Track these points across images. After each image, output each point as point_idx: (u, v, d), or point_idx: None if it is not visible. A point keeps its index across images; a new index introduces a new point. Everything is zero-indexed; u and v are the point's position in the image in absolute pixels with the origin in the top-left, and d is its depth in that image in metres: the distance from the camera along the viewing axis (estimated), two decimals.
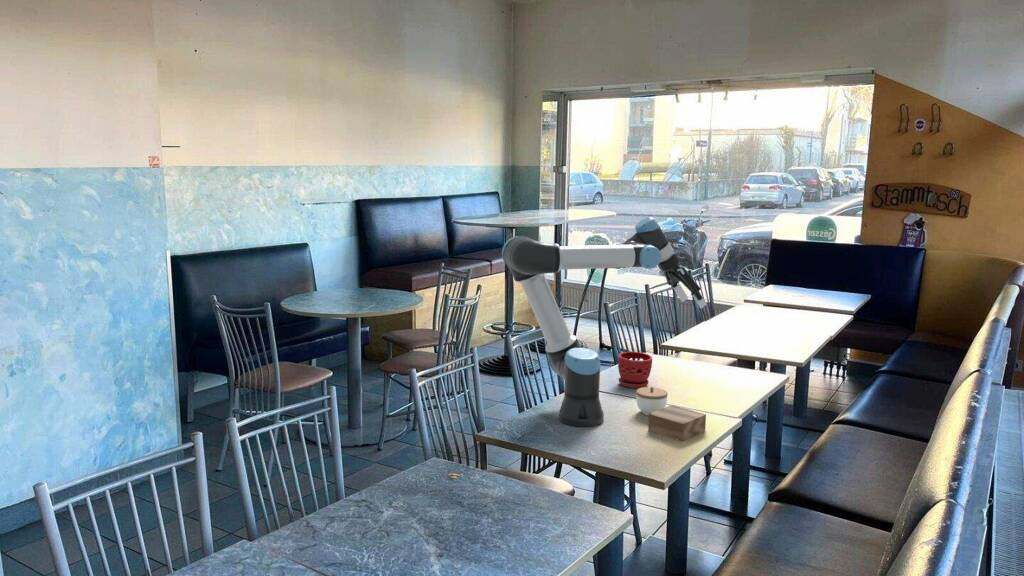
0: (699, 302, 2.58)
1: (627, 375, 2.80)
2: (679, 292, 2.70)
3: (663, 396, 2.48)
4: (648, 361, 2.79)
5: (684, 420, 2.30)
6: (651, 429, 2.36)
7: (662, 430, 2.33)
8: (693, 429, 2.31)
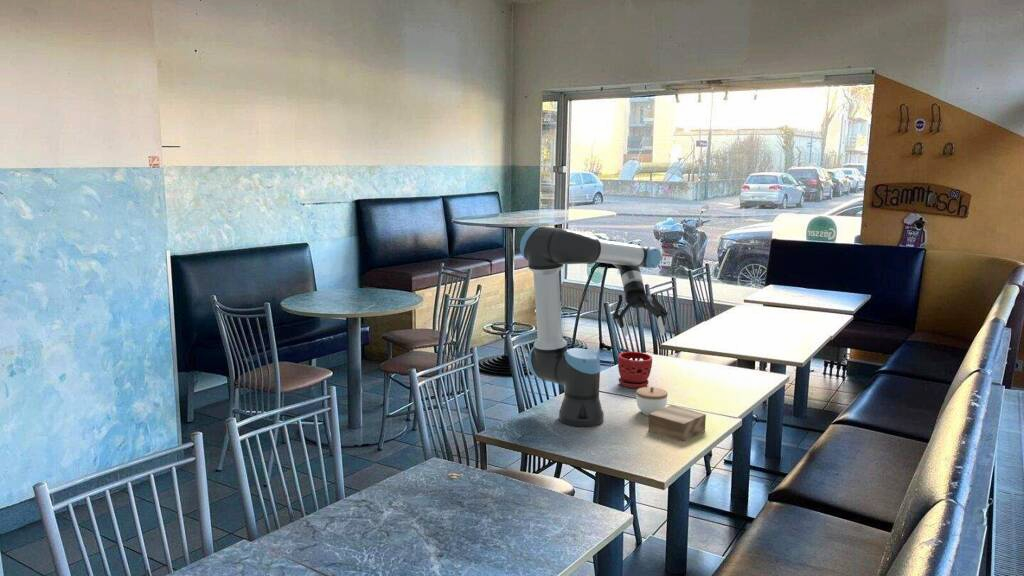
0: None
1: (627, 375, 2.80)
2: None
3: (663, 396, 2.48)
4: (648, 361, 2.79)
5: (684, 420, 2.30)
6: (651, 429, 2.36)
7: (663, 430, 2.33)
8: (694, 429, 2.32)
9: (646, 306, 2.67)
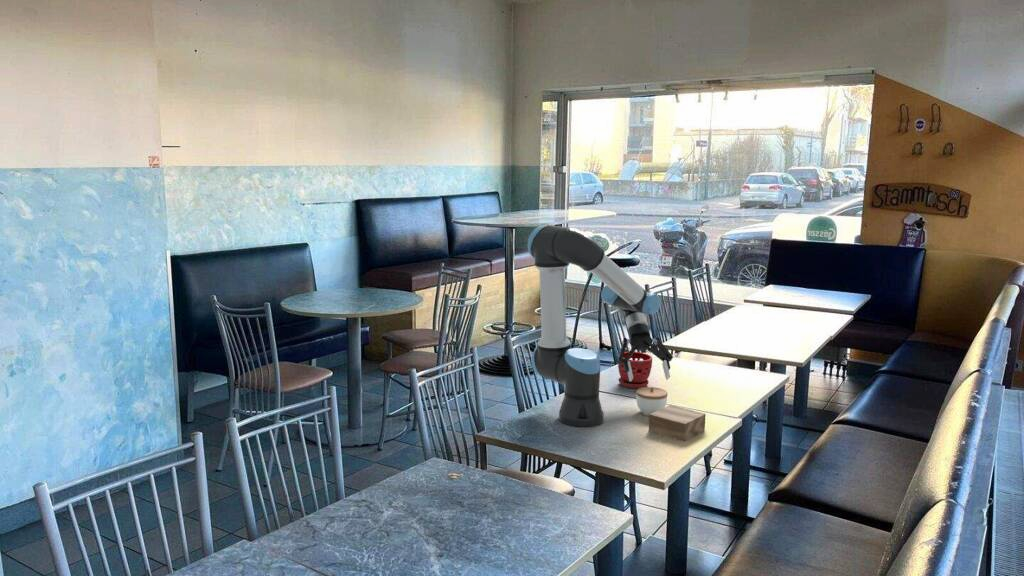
0: None
1: (627, 375, 2.80)
2: None
3: (663, 396, 2.48)
4: (648, 361, 2.79)
5: (685, 420, 2.30)
6: (652, 430, 2.35)
7: (663, 431, 2.32)
8: (694, 428, 2.32)
9: (651, 349, 2.65)
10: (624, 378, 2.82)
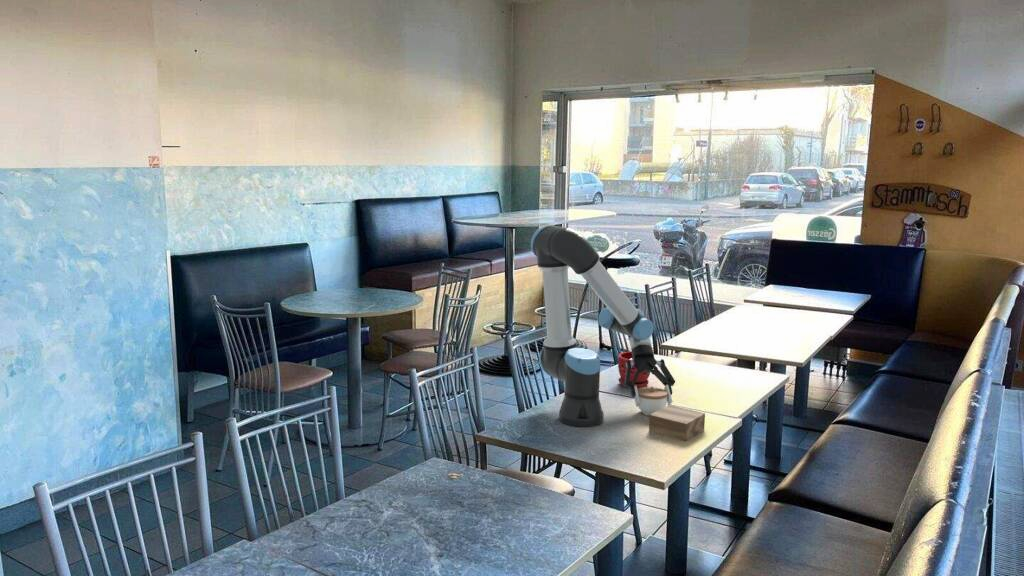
0: None
1: None
2: None
3: (663, 396, 2.48)
4: None
5: (686, 420, 2.30)
6: (652, 430, 2.35)
7: (664, 431, 2.32)
8: (695, 428, 2.32)
9: (654, 372, 2.57)
10: (624, 378, 2.82)
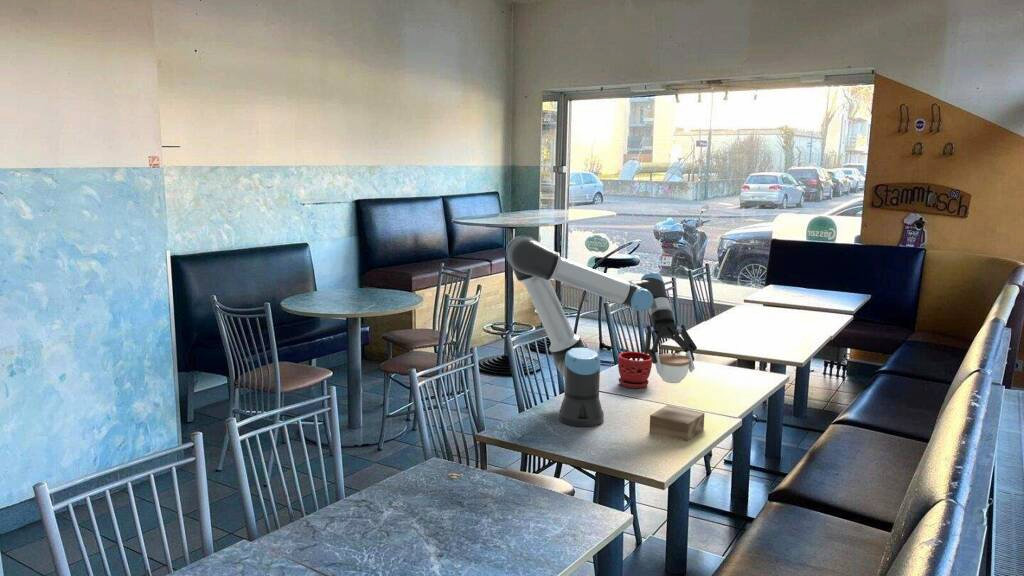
0: None
1: (627, 375, 2.80)
2: None
3: (686, 363, 2.38)
4: (648, 361, 2.79)
5: (687, 420, 2.30)
6: (653, 431, 2.35)
7: (665, 431, 2.32)
8: (695, 428, 2.32)
9: (675, 337, 2.47)
10: (624, 378, 2.82)
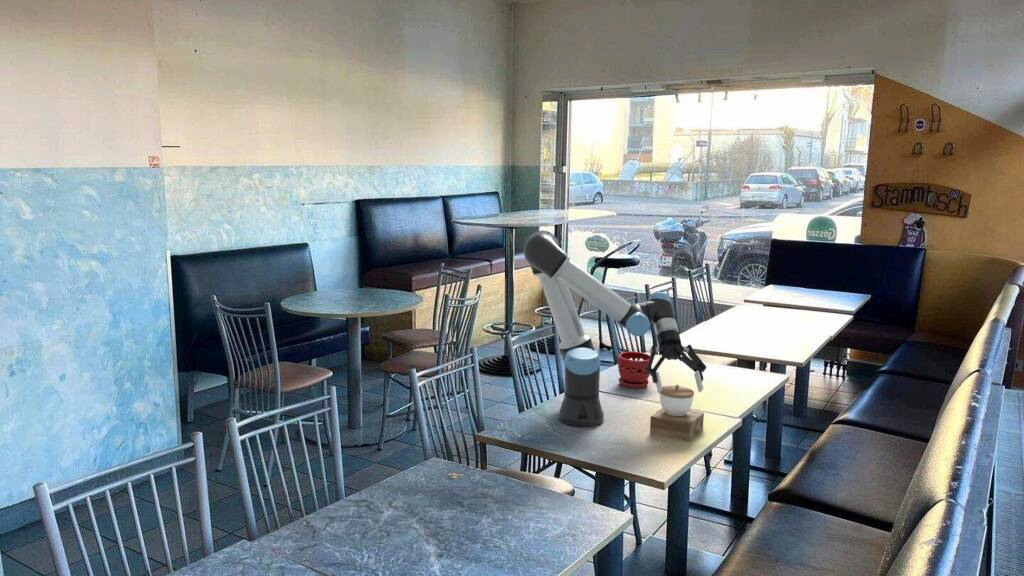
0: None
1: (627, 375, 2.80)
2: None
3: (688, 395, 2.31)
4: None
5: (688, 420, 2.30)
6: (653, 431, 2.34)
7: (666, 432, 2.31)
8: (696, 428, 2.32)
9: (682, 358, 2.42)
10: (624, 378, 2.82)
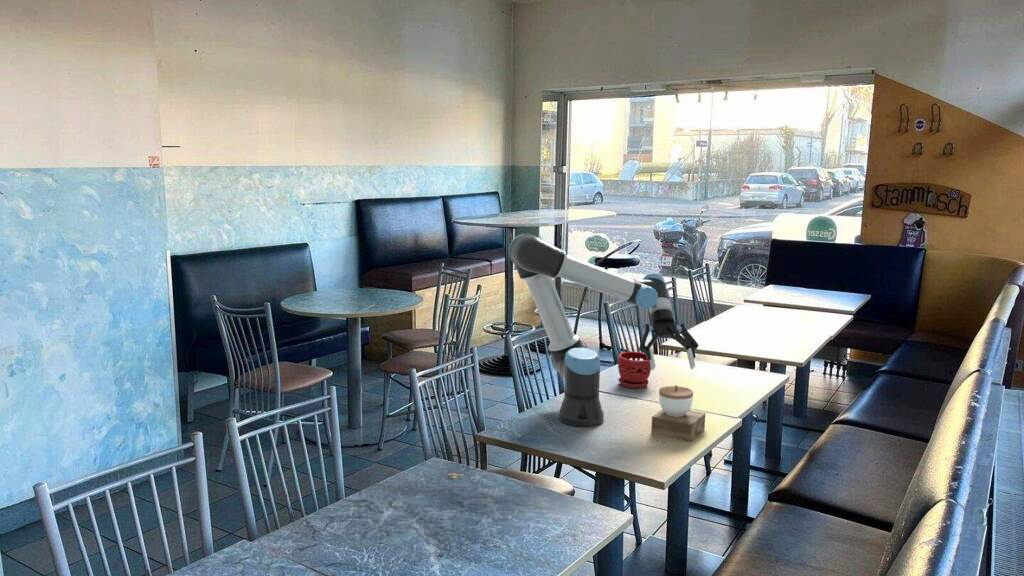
0: None
1: (627, 375, 2.80)
2: None
3: (684, 396, 2.30)
4: (648, 361, 2.79)
5: (689, 420, 2.30)
6: (654, 432, 2.34)
7: (667, 432, 2.31)
8: (697, 428, 2.32)
9: (675, 336, 2.48)
10: (624, 378, 2.82)
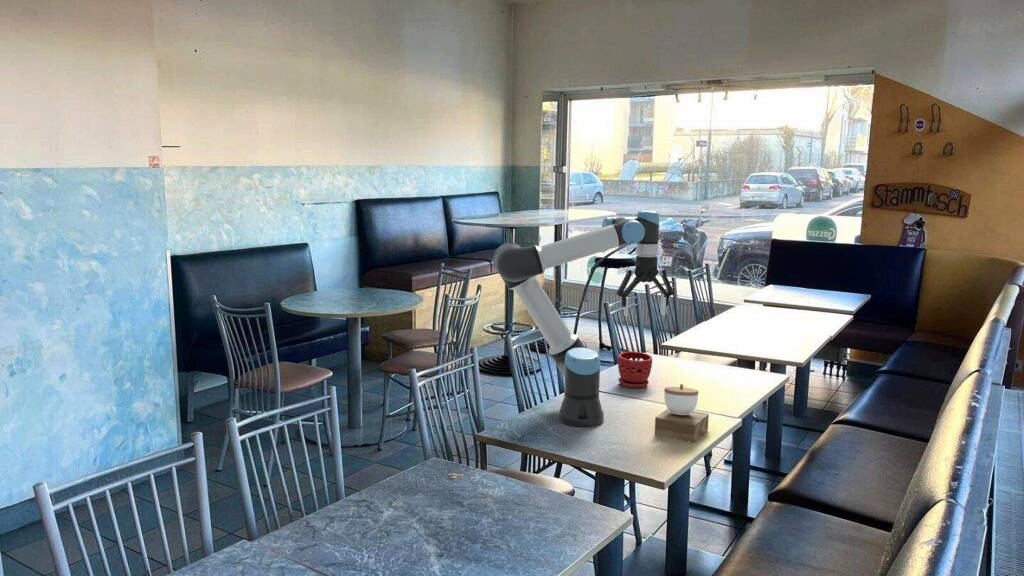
0: None
1: (627, 375, 2.80)
2: None
3: (682, 393, 2.30)
4: (648, 361, 2.79)
5: (693, 421, 2.29)
6: (658, 433, 2.33)
7: (671, 433, 2.30)
8: (701, 429, 2.31)
9: (654, 282, 2.56)
10: (624, 378, 2.82)
